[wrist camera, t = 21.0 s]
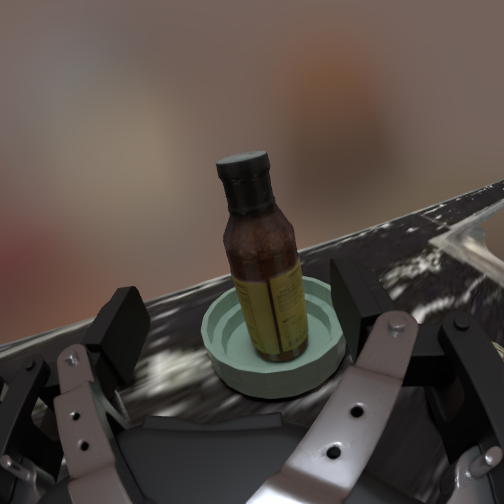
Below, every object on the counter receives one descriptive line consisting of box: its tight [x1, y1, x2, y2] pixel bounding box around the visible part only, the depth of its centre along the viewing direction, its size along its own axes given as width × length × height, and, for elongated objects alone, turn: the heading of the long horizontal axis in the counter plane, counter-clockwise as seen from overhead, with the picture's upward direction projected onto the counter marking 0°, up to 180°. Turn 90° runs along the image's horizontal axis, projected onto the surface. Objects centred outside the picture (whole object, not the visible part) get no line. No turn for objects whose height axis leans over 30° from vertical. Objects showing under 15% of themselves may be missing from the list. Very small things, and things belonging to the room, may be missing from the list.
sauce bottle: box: [216, 151, 309, 361], centre depth 25 cm, size 6×6×20 cm
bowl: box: [201, 276, 346, 399], centre depth 29 cm, size 15×15×5 cm
